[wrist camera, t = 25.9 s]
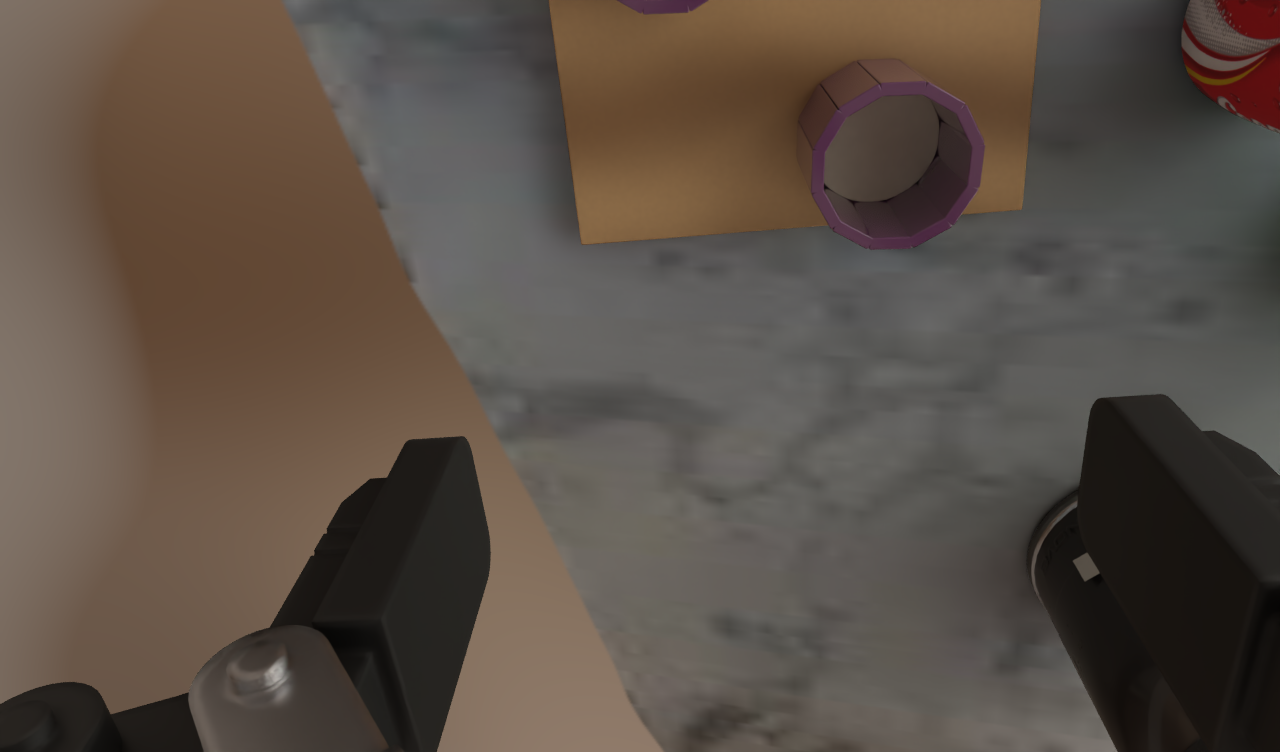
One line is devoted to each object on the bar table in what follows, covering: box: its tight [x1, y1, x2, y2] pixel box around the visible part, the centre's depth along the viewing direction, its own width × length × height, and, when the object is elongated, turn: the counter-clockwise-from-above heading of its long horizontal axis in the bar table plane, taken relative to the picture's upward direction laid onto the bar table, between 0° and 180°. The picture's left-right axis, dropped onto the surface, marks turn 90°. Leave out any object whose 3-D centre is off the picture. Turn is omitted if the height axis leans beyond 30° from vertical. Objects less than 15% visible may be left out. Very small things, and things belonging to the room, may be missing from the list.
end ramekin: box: [796, 58, 985, 250], centre depth 34 cm, size 6×6×5 cm
